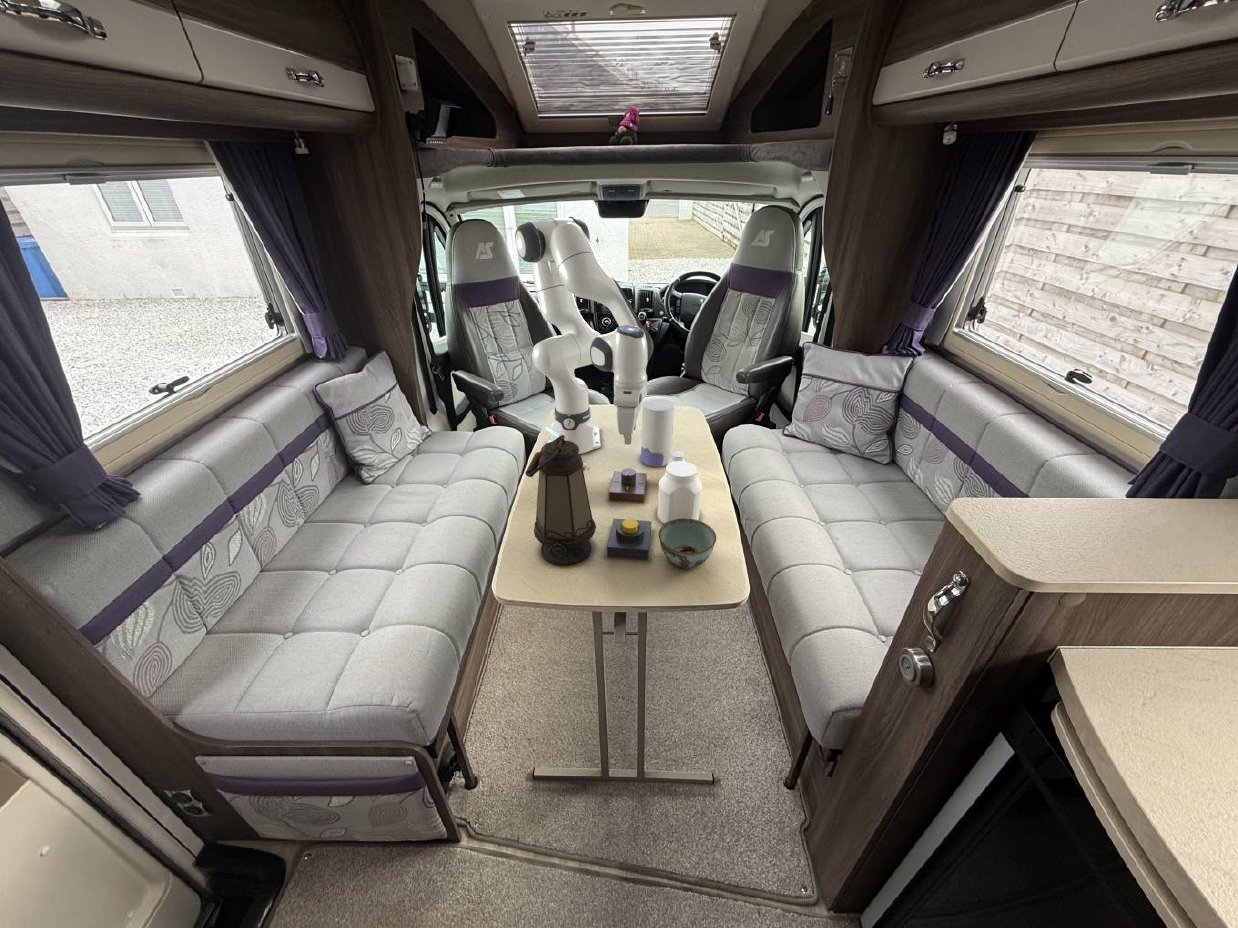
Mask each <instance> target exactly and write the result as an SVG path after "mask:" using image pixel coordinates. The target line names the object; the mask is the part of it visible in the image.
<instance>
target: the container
mask: <svg viewBox="0 0 1238 928" xmlns="http://www.w3.org/2000/svg"><path fill="white" fill-rule="evenodd" d="M641 407H642V409H641V440H640V444H641V445H640V461H641V462H642V463H643V464H644V465H647V466H649V467H656V468H657V467H666V466H667V465H668V462H669V459H670V458H671V453H672V452H673V451H672V450H673V436H674V435H673V434H674V420H675V418H674V417H675V403H674V402H673V401H671V400H670V399H667V398H666V399H665V398H649V399H646V400H644V401H642V405H641Z"/></svg>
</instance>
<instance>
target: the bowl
mask: <svg viewBox="0 0 1238 928" xmlns="http://www.w3.org/2000/svg"><path fill="white" fill-rule="evenodd" d="M658 539H659V545H660V549H661V551H662V553H663V555H664V557H665V558H666V559H667V560H668V561H669V562H670V563H671V564H673V565H675V566H676V567H678V568H679V569H684V570H690V569H694V568H695V567H698V566H700V565H702V564H703V563H705V562H706V561H707V560H708V559H709V557H710V556H711V555H712V554H713V553H712V552H713V550H714V548H715V545H716V542H717V533H716V532H715V530H714V529H713V527H711V525H708V524H707V523H705V522H703V521H701V520H699V519H698V520H695V519H687V518H681V519H674V520H671V521H668V522H666V523H665V524H664V523H662V525H661V526H660V528H659V530H658Z"/></svg>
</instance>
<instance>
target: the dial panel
mask: <svg viewBox="0 0 1238 928" xmlns="http://www.w3.org/2000/svg"><path fill="white" fill-rule="evenodd" d="M647 478H648V474H647V473H646V472H636V483H635V484H634V485H632V486H625V485H623V484H622V483H621V471H615V470H614V471H613V475H612V480H611V483H610V487H609V490H608V500H609V501H611V502H625V503H639V504H644V502H645V495H646V489H647V488H646V487H647Z"/></svg>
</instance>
